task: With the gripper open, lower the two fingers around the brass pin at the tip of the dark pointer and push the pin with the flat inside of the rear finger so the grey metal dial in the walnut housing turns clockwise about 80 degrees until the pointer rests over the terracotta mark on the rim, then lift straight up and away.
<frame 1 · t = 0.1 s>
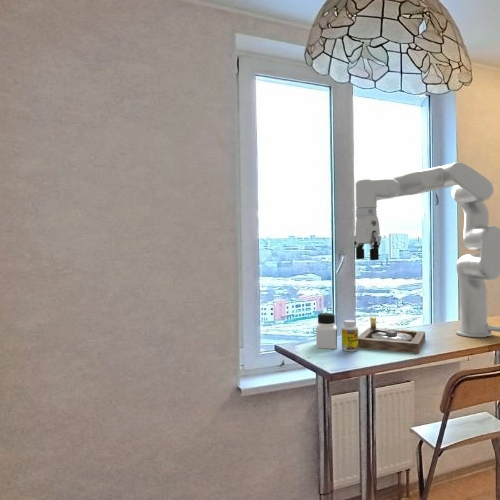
hand: (367, 259, 162), 31 cm above the table, tool pointing down, fingers open, 9 cm apart
supplement bottle: (350, 350, 152), on the table
medicine bottle: (326, 347, 158), on the table
housing: (391, 343, 160), on the table
dial: (388, 329, 161), point 5 cm above the table, hinge at 0.0°
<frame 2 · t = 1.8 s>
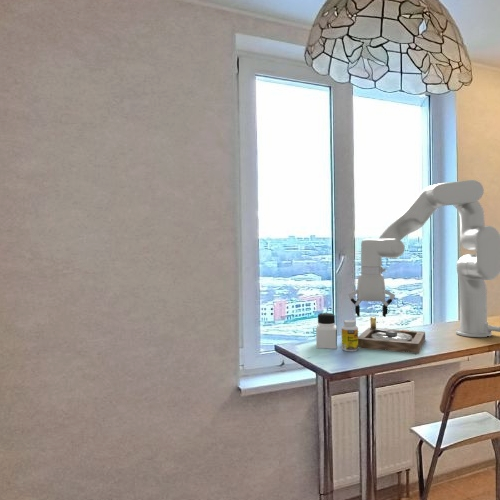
hand: (371, 316, 167), 9 cm above the table, tool pointing down, fingers open, 9 cm apart
nothing on the table moved.
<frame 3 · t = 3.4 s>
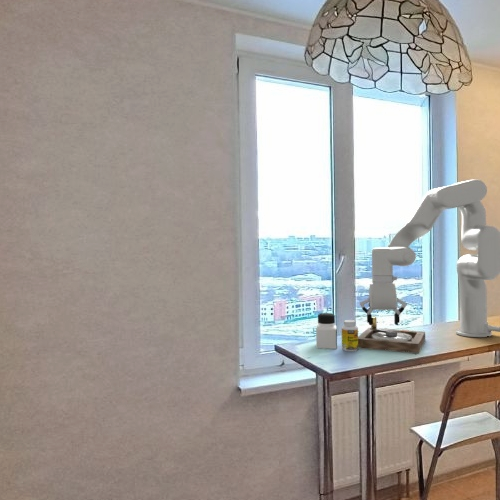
hand: (383, 324, 167), 6 cm above the table, tool pointing down, fingers open, 9 cm apart
dial: (388, 329, 161), point 5 cm above the table, hinge at -2.1°, touching gripper
everything else where it was.
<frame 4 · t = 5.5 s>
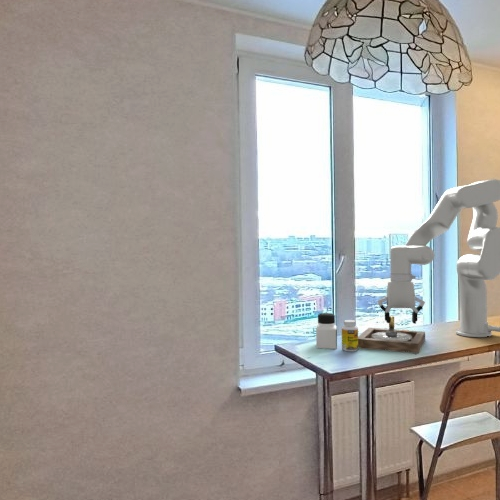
hand: (400, 322, 167), 6 cm above the table, tool pointing down, fingers open, 9 cm apart
dial: (391, 329, 161), point 5 cm above the table, hinge at -51.2°, touching gripper
everything else where it was.
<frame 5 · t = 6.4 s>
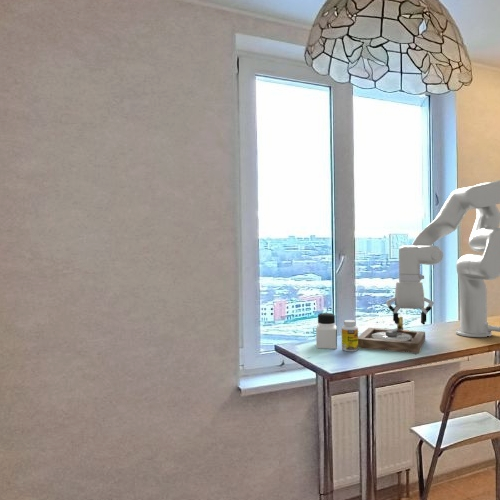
hand: (409, 323, 165), 6 cm above the table, tool pointing down, fingers open, 9 cm apart
dial: (392, 329, 161), point 5 cm above the table, hinge at -72.2°, touching gripper
everything else where it was.
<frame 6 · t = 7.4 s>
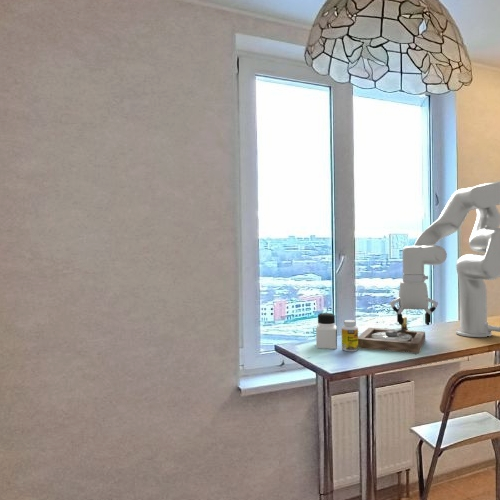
hand: (413, 324, 164), 6 cm above the table, tool pointing down, fingers open, 9 cm apart
dial: (393, 329, 160), point 5 cm above the table, hinge at -83.1°, touching gripper
everything else where it was.
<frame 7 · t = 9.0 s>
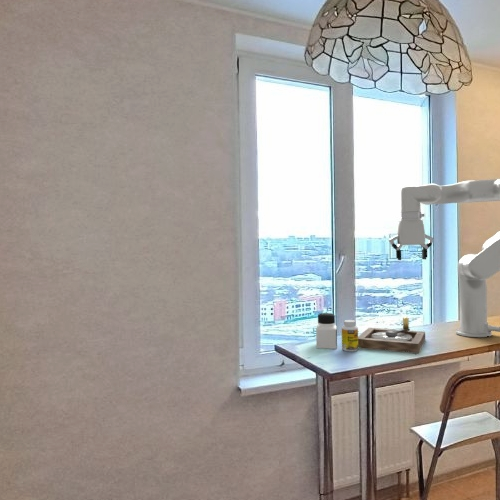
hand: (411, 259, 175), 30 cm above the table, tool pointing down, fingers open, 9 cm apart
dial: (393, 329, 160), point 5 cm above the table, hinge at -88.3°
everything else where it was.
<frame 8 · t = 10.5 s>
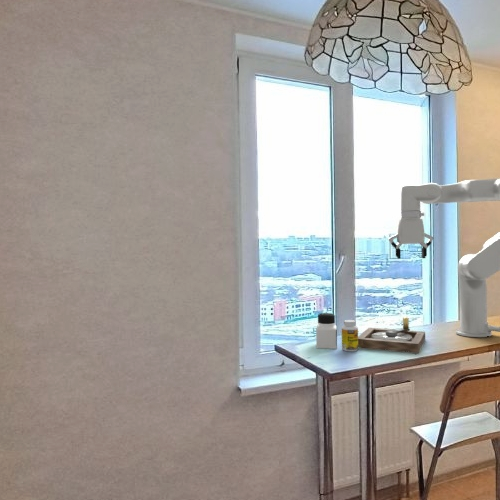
hand: (411, 258, 176), 30 cm above the table, tool pointing down, fingers open, 9 cm apart
nothing on the table moved.
at the end: dial at -88° (first picture: +0°) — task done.
